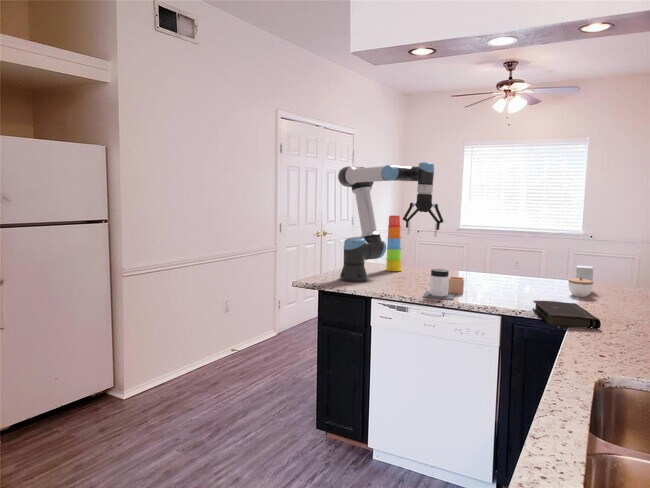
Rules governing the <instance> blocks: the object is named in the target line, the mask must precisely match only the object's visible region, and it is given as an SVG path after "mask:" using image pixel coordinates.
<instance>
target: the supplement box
mask: <svg viewBox="0 0 650 488" xmlns="http://www.w3.org/2000/svg"><path fill="white" fill-rule="evenodd" d="M575 267H576V268H575V269H576V270H575V278H579V279H580V277H582V279H587V280H591V281H593V280H594V277H593V276H594V268H593V266H592V265H589V266H588V265H576V266H575ZM592 290H593V289H592ZM592 290H591V292H592Z"/></svg>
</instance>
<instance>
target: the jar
mask: <svg viewBox="0 0 650 488" xmlns="http://www.w3.org/2000/svg"><path fill="white" fill-rule="evenodd" d="M449 278H450V275H449V270H448V269H444V268H431V271H430V276H429V291H430V294H431V295H432V296H439V297H443V296H448V287H449Z"/></svg>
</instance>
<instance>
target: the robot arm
mask: <svg viewBox="0 0 650 488" xmlns="http://www.w3.org/2000/svg"><path fill="white" fill-rule="evenodd" d="M434 176H435V164H434V163H433V162H424V161H423V162H419V164H418V166H409V165H408V166H407V165H394V164H386V165H383V166H382V165H381V166H371V167H365V166H345V167H342V168H341V169H340V170H339V171H338V174H337V180H338V182H339V183H340V184H341V186H344V187H348V188H351V191H352V193H353V194H355V198H356V199H355V200H356V207H357V211H358V217H359V218H358V219H359V223H360V230H361V235H360V236H355V237H354V236H353V237H348V238H346V239H344V241H343V242H344V243H343V266H342V269H341V272H340V275H339V280H341V281H343V282H347V283H348V282H350V283H362V282H367V280H368V275H367V271H366V268H365V261H367V260H378V259H381V258H383V256H385V253H387V243H386V241H385V240H384V238H381V233H380V232H378V231H377V225H376V219H375V213H374V207H373V202H372V196H371V190H372V189H373V187H372V186H373V185H374V182H385V181H386V182H387V181H389V182H390V181H394V182H395V181H399V182H400V181H401V182H417V191H416V192H417V194H416V202H410V203H409V207H408V209H407V210H406V212H405V214H404V216H403V217H402V220H403V221H405V228H406V229H407V233H406V234H407V235H408V236H409V235H410V234H411V219H413V217H414V216H416V214H417V213H418V212H419V213H429V215H431V217H432V218H433V220H434V221H435V225H434V234H433V235H434V237H437V234H438V231H440V225H441V224H443V223H444V221H445V220H444V219H443V216H442V214H441V212H440V209H439V204H438V203H434V204H433V191H434V189H433V188H434V178H435V177H434ZM415 207H416V209H415V210H414V212H412V213H411V214H410V212H411V211H412V210H413V208H415ZM432 208H433V209H435V212H436V214H435V213H434V211H432ZM409 214H410V216H409ZM436 215H437V216H436ZM408 216H409V217H408Z"/></svg>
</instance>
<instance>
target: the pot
mask: <svg viewBox="0 0 650 488" xmlns="http://www.w3.org/2000/svg"><path fill="white" fill-rule="evenodd" d="M464 285H465V277H464V276H463V277H461V276H449V287H448V293H455V295H456V294H458V295H463V294H464V289H465V286H464Z"/></svg>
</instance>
